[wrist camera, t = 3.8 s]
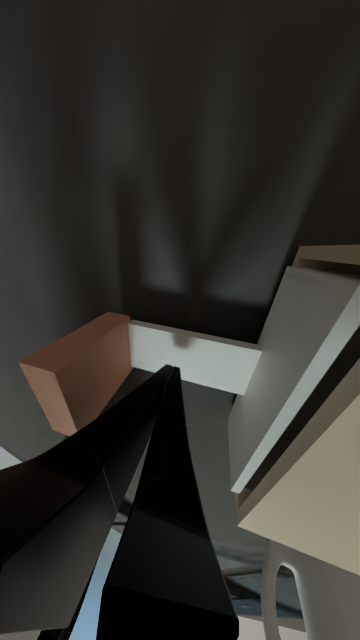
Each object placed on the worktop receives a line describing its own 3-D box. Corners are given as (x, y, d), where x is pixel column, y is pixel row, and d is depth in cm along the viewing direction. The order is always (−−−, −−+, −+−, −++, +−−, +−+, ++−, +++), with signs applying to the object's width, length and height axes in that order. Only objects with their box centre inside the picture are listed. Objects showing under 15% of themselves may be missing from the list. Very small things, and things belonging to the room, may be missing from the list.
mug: (365, 513, 15) (724, 1171, 4) (332, 532, 18) (497, 950, 7) (255, 478, 17) (315, 867, 6) (242, 501, 20) (267, 791, 9)
